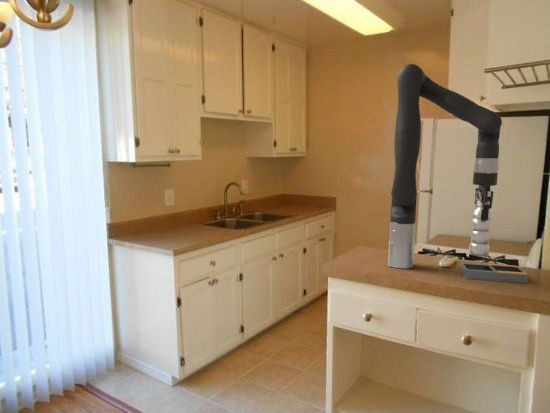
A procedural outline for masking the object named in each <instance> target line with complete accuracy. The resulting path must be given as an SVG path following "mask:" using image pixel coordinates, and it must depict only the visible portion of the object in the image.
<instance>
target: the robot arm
mask: <svg viewBox="0 0 550 413" xmlns="http://www.w3.org/2000/svg"><path fill="white" fill-rule="evenodd" d="M396 79H397V82H396V83H397V100H398V101H397V110H396V111H397V112H396V119H395V120H396V121H395V129H394V146H393V147H394V149H393V150H394V162H395V163H394V167H395V168H394V169H395V170H394V176H393V183H392V188H391V192H390V194H391V195H390V196H391V205H390V206H391V207H390V223H389V240H388V256H387V257H388V259H387V264H388V267H390V268H394V269H395V268H396V269H412V268H413V267H414V255H415V254H414V253H415V236H416V219H417V218H416V216H417V200H418V199H417V198H418V197H417V195H418V191H417V190H418V189H417V180H416V177H417V175H416V174H417V164H418V159H419V154H420V148H421V138H422V137H421V136H422V135H421V134H422V121H421V114H420V112H421V111H420V98H423V99H426V100H428V101H429V102H431V103H434V104H435V105H436V106H438V107H440V108H441V109H443V110H444V111H445V112H447V113H449V114H450V115H452V116H454V117H456V118H457V119H459V120H461V121H463V122H467V123H468V124H470V125H472V126H473V127H475V128H476V129H477V144H476V150H475V160H474V165H473V174H472V175H473V176H472V185H475V186H478V187H476V188H475V190H474V191H475V192H474V205H475V207H476V208H477V206H476V204H477V200H479V201H480V203H481V220H486V221H487V220H488V214H489V210H490V209H492V207H493V200H494V199H493V198H494V190H491V187H492V186H493V187H494V186H497V185H498V178H499V177H498V176H499V158H500V156H499V155H500V135H501V127H502V124H503V120H502V117H501V116H500V114H498V113H497V112H495V111H493V110H491V109H489V108H487V107H484V106H481V105H479V104H478V103H476V102H475V101H473V100H471V99H470V98H467V97H466V96H464V95H462V94H460V93H458V92H456V91H453V90H450V89H448V88H447V87H444V86H442V85H439V84H438V83H437V82H435V81H434V80H433V79H431V78H430V77H429V76H427V74H425V72H424V70H423V69H422V68H421V67H420V66H419V65H418V64H414V63H408V64H406V65H404V66H403V67H401V69H400V70H399V72H398V73H397V78H396ZM486 204H487V205H486ZM476 208H475V209H476Z"/></svg>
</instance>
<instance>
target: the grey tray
mask: <svg viewBox="0 0 550 413" xmlns="http://www.w3.org/2000/svg"><path fill="white" fill-rule="evenodd" d="M459 271H460V272H461V273H462V275H463V276H464V277H465V279H467V280H478V281H491V282H504V283H518V284H519V283H520V284H528V283H529V281H528V279H529V274H528V273H527V272H525V271H524V270H523V269H521V268H520V267H519V266H517V265H510V264H496V263H495V264H494V263H489V264H483V263H482V264H481V263H472V262H471V263H469V262H468V263H467V262H461V263H460V270H459Z"/></svg>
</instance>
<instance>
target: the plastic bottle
mask: <svg viewBox="0 0 550 413" xmlns="http://www.w3.org/2000/svg"><path fill="white" fill-rule="evenodd" d="M486 205H487V204H486ZM476 206H477V208H475V209H474V210H473V211H472V212H471V214H470V215H471V217H470V218H471V236H470V242H469V245H468V252H469V254H470V255H471V256H475V257H482V258H483V257H488V255H489V254H490V251H491V250H490V236H489V234H490V227H491V223H492V218H493V214H492V212H491V211H490V210H489V214H488V220H487V221H486V220H481V203H480V201H479V200H477V204H475V207H476Z"/></svg>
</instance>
